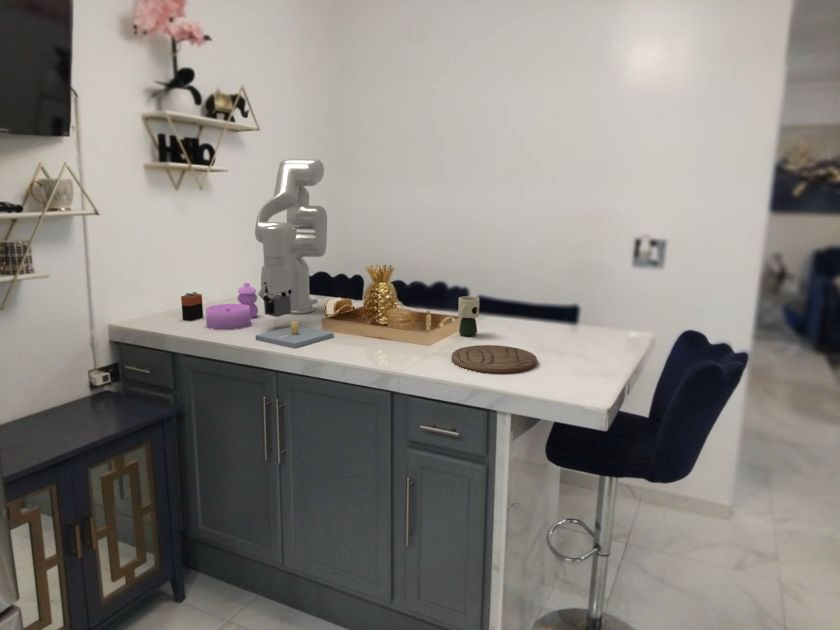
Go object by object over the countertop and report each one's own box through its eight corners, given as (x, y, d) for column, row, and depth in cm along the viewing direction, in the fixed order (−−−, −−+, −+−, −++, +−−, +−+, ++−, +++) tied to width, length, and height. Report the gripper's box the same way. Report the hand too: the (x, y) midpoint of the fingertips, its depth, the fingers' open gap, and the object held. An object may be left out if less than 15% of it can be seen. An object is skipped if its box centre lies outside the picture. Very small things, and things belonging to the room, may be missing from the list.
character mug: (471, 339, 204) (472, 301, 201) (452, 337, 207) (453, 299, 204) (483, 333, 213) (484, 296, 210) (464, 330, 216) (465, 294, 213)
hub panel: (295, 329, 215) (295, 314, 213) (333, 337, 205) (333, 321, 204) (255, 339, 200) (255, 323, 199) (294, 348, 190) (294, 331, 189)
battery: (182, 320, 227) (180, 293, 225) (194, 316, 233) (193, 290, 231) (191, 321, 225) (189, 294, 223) (203, 317, 232) (202, 291, 229)
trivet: (527, 351, 192) (527, 345, 191) (545, 375, 167) (545, 368, 167) (448, 350, 191) (448, 344, 191) (455, 375, 167) (455, 368, 166)
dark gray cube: (278, 310, 220) (277, 293, 218) (290, 313, 216) (290, 296, 215) (264, 314, 215) (263, 297, 213) (277, 317, 211) (276, 299, 210)
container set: (236, 331, 212) (234, 294, 209) (198, 328, 215) (195, 291, 212) (271, 316, 235) (269, 283, 232) (235, 314, 239) (234, 280, 236)
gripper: (285, 256, 220) (288, 304, 224) (248, 263, 206) (251, 314, 211) (300, 258, 216) (302, 307, 220) (263, 266, 202) (266, 318, 206)
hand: (277, 310), depth 215 cm, fingers closed on dark gray cube, 6 cm apart
